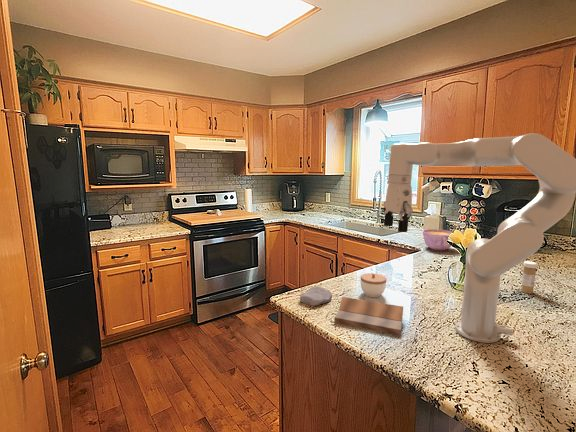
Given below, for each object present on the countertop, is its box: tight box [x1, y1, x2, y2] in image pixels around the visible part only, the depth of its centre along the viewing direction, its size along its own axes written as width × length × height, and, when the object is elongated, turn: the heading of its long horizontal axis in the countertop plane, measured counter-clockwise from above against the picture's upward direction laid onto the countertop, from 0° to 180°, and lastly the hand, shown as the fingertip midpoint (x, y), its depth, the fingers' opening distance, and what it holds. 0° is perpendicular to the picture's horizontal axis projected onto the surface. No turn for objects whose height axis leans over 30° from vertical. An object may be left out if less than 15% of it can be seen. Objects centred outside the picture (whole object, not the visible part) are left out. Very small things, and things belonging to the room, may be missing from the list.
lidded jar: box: [360, 272, 387, 298], centre depth 132 cm, size 11×11×9 cm
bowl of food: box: [422, 228, 453, 252], centre depth 207 cm, size 20×20×12 cm
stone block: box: [299, 285, 333, 307], centre depth 127 cm, size 12×5×10 cm
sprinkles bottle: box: [520, 260, 538, 295], centre depth 135 cm, size 5×5×14 cm
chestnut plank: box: [338, 296, 404, 323], centre depth 113 cm, size 22×6×2 cm, turn 67°
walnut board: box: [333, 309, 403, 336], centre depth 107 cm, size 22×6×2 cm, turn 67°
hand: (395, 228), depth 109 cm, fingers open, 9 cm apart
